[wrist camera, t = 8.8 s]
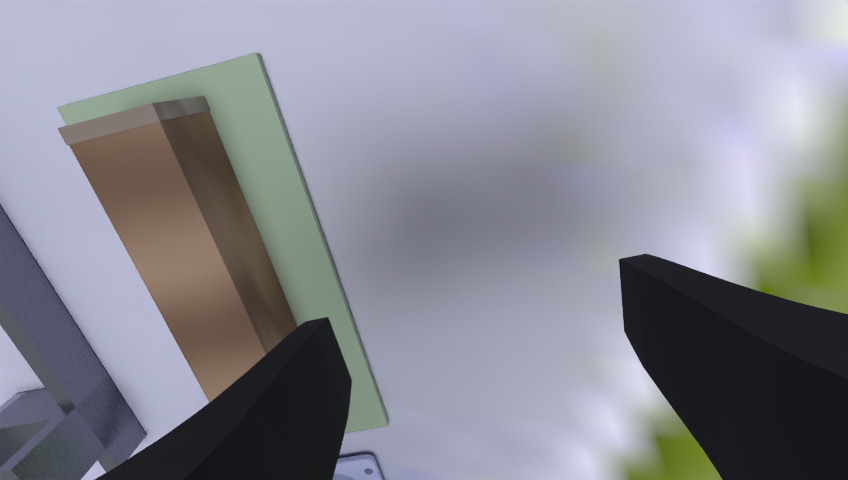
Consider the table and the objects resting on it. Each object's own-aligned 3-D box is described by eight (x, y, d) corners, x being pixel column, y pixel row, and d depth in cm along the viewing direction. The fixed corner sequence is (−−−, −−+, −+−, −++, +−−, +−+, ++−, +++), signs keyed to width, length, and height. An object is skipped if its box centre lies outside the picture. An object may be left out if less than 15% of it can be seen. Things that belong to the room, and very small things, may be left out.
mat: (388, 420, 25) (387, 425, 24) (244, 444, 26) (241, 450, 25) (259, 53, 17) (255, 53, 17) (64, 106, 18) (56, 107, 18)
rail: (337, 420, 24) (322, 477, 21) (278, 430, 25) (253, 487, 21) (204, 95, 18) (151, 103, 14) (126, 116, 18) (57, 128, 15)
